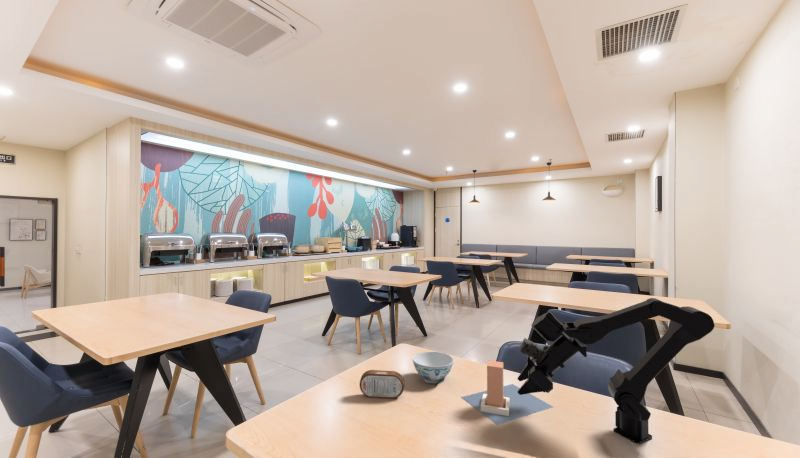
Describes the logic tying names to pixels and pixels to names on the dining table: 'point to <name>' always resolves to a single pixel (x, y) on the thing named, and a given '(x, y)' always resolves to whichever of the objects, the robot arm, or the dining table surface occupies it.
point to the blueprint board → (518, 404)
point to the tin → (382, 384)
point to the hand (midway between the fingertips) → (518, 386)
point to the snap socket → (495, 409)
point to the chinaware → (432, 365)
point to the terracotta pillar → (495, 384)
